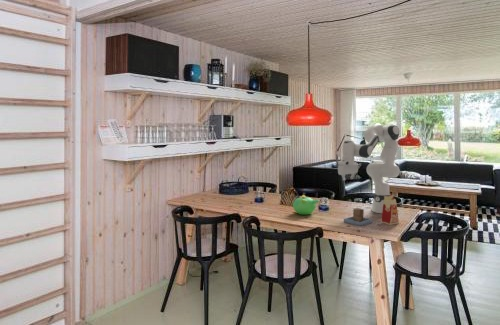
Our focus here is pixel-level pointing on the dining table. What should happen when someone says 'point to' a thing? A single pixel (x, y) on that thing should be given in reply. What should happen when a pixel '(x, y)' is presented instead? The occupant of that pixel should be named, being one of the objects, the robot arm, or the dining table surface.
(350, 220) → the slate tray
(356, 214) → the walnut block
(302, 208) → the green teapot
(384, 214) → the milk carton
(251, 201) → the dining table surface
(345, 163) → the robot arm
